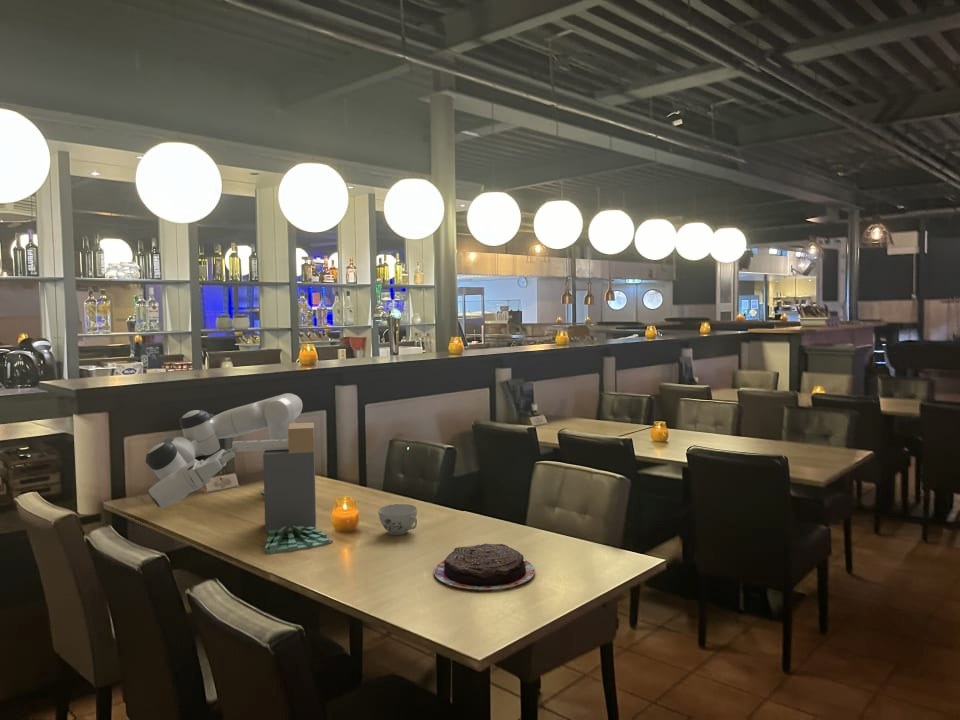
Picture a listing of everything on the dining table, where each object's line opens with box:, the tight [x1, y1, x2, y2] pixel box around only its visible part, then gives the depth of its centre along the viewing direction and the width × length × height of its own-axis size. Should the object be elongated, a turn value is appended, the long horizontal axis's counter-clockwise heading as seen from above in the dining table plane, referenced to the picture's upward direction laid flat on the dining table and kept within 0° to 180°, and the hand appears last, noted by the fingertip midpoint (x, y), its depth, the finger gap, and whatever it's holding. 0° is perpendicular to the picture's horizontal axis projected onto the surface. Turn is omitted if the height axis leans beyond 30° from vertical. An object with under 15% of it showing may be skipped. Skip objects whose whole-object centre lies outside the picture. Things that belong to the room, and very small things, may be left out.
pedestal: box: [262, 422, 317, 534], centre depth 247 cm, size 12×16×34 cm
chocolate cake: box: [433, 543, 536, 593], centre depth 203 cm, size 28×28×7 cm
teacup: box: [377, 503, 418, 536], centre depth 239 cm, size 15×12×8 cm
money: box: [264, 526, 334, 554], centre depth 229 cm, size 20×16×5 cm
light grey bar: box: [231, 439, 289, 453], centre depth 245 cm, size 3×24×3 cm, turn 102°
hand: (235, 450), depth 242 cm, fingers open, 8 cm apart
